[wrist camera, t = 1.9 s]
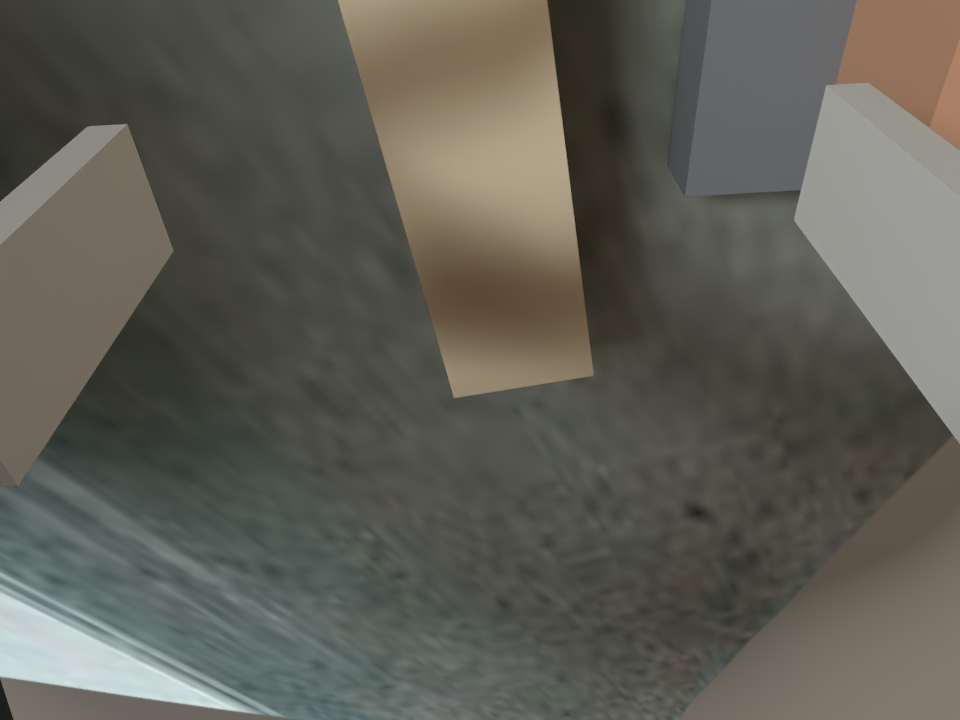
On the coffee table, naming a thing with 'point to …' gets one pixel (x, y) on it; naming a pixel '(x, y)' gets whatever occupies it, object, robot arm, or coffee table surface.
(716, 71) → the fulcrum
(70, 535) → the coffee table surface
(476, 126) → the beam
